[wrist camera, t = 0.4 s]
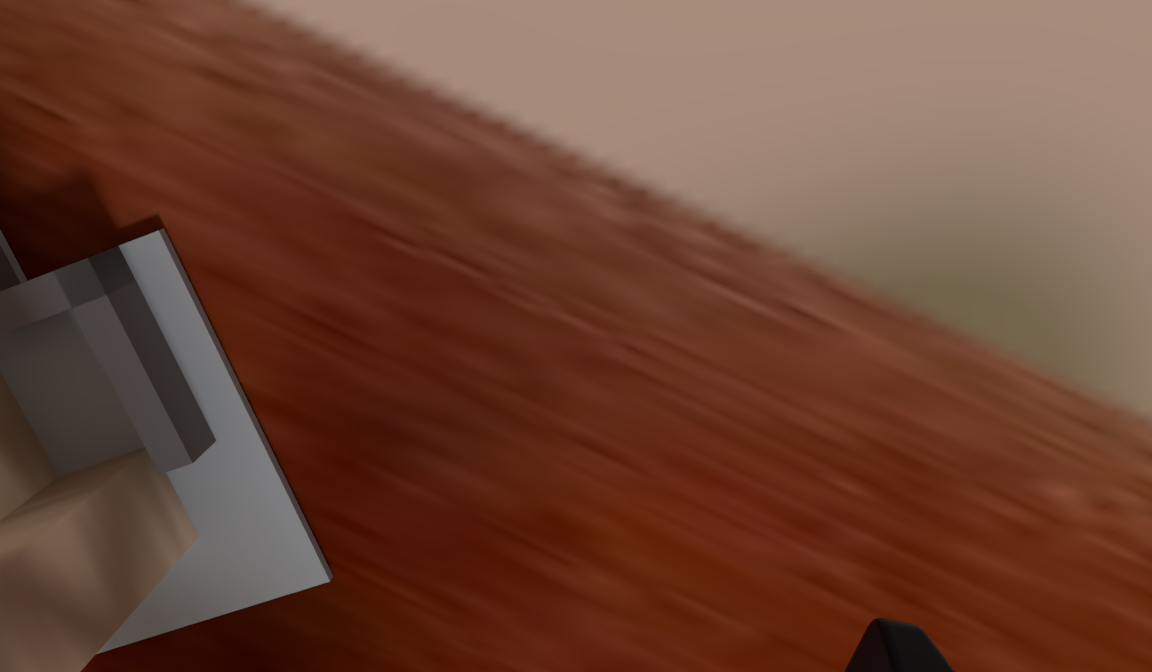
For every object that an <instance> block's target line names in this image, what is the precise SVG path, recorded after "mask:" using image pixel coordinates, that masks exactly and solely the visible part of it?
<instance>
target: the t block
mask: <svg viewBox="0 0 1152 672" xmlns="http://www.w3.org/2000/svg"><path fill="white" fill-rule="evenodd" d="M198 538H199V535H198V533H197V532H196V530H195V528H194V526H193V524H192V522H191V520H190V518H189V516H188V514H187V512H186V510H185V508H184V507H183V505H182V503H181V501H180V499H179V497H178V495H177V493H176V491H175V489H174V487H173V485H172V484H171V482H170V480H169V478H168V476H167V474H166V473H163V474H160V475H159V473H158V471H157V469H156V467H155V465H154V463H153V461H152V460H151V458H150V456H149V454H148V452H147V450H146V448H145V447H143V448H140V449H137V450H134V451H132V452H129V453H126V454H123V455H120V456H117V457H114V458H111V459H108V460H106V461H103V462H100V463H97V464H94V465H91V466H88V467H85V468H82V469H80V470H77V471H74V472H71V473H68V474H65V475H62V476H58V474H57V473H56V471H55V469H54V467H53V465H52V464H51V462H50V460H49V458H48V456H47V455H46V453H45V451H44V449H43V447H42V446H41V444H40V442H39V440H38V438H37V436H36V435H35V433H34V431H33V429H32V427H31V426H30V424H29V422H28V420H27V418H26V417H25V415H24V413H23V411H22V409H21V408H20V406H19V404H18V402H17V400H16V399H15V397H14V395H13V393H12V391H11V390H10V388H9V386H8V384H7V382H6V380H5V379H4V377H3V375H2V373H1V371H0V672H81V670H82V669H83V668H84V667H85V666H86V665H87V664H88V662H89V661H90V660H91V659H92V658H93V657H94V656H95V655H96V653H97V652H98V651H99V650H100V649H101V648H102V647H103V645H104V644H105V643H106V642H107V641H108V640H109V639H110V638H111V636H112V635H113V634H114V633H115V632H116V631H117V630H118V628H119V627H120V626H121V625H122V624H123V623H124V622H125V621H126V619H127V618H128V617H129V616H130V615H131V614H132V613H133V612H134V610H135V609H136V608H137V607H138V606H139V605H140V604H141V602H142V601H143V600H144V599H145V598H146V597H147V596H148V595H149V593H150V592H151V591H152V590H153V589H154V588H155V587H156V585H157V584H158V583H159V582H160V581H161V580H162V579H163V578H164V576H165V575H166V574H167V573H168V572H169V571H170V570H171V569H172V567H173V566H174V565H175V564H176V563H177V562H178V561H179V559H180V558H181V557H182V556H183V555H184V554H185V553H186V552H187V550H188V549H189V548H190V547H191V546H192V545H193V544H194V542H195V541H196V540H197V539H198Z"/></svg>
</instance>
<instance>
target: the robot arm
mask: <svg viewBox="0 0 1152 672" xmlns="http://www.w3.org/2000/svg"><path fill="white" fill-rule="evenodd" d="M845 672H955V671H954V670H953V668H952V667H951V666H950V665H949V663H948V662H947V661H946V659H945V658H944V657H943V655H942V654H941V653H940V651H939V650H938V649H937V647H936V646H935V645H934V643H933V642H932V641H931V639H930V638H929V637H928V635H927V634H926V633H925V632H924V631H923V630H922V629H921V628H920V627H919V626H917V625H915V624H911V623H906V622H901V621H897V620H892V619H887V618H876V619H874V620H873V621H872V622H871V623H870V624H869V626H868V627H867V629H866V631H865V633H864V635H863V637H862V639H861V641H860V643H859V645H858V647H857V649H856V650H855V652H854V654H853V656H852V658H851V660H850V662H849V664H848V666H847V668H846V670H845Z"/></svg>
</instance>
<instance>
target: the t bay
mask: <svg viewBox="0 0 1152 672" xmlns="http://www.w3.org/2000/svg"><path fill="white" fill-rule="evenodd" d="M0 371H1V373H2V375H3V377H4V379H5V380H6V382H7V384H8V386H9V388H10V390H11V391H12V393H13V395H14V397H15V399H16V400H17V402H18V404H19V406H20V408H21V409H22V411H23V413H24V415H25V417H26V418H27V420H28V422H29V424H30V426H31V427H32V429H33V431H34V433H35V435H36V436H37V438H38V440H39V442H40V444H41V446H42V447H43V449H44V451H45V453H46V455H47V456H48V458H49V460H50V462H51V464H52V465H53V467H54V469H55V471H56V473H57V474H58V476H62V475H65V474H68V473H71V472H74V471H77V470H80V469H82V468H85V467H88V466H91V465H94V464H97V463H100V462H103V461H106V460H108V459H111V458H114V457H117V456H120V455H123V454H126V453H129V452H132V451H134V450H137V449H140V448H143V447H145V448H146V450H147V452H148V454H149V456H150V458H151V460H152V461H153V463H154V465H155V467H156V469H157V471H158V473H159V475H160V474H163V473H166V474H167V476H168V478H169V480H170V482H171V484H172V485H173V487H174V489H175V491H176V493H177V495H178V497H179V499H180V501H181V503H182V505H183V507H184V508H185V510H186V512H187V514H188V516H189V518H190V520H191V522H192V524H193V526H194V528H195V530H196V532H197V533H198V535H199V538H198V539H197V540H196V541H195V542H194V544H193V545H192V546H191V547H190V548H189V549H188V550H187V552H186V553H185V554H184V555H183V556H182V557H181V558H180V559H179V561H178V562H177V563H176V564H175V565H174V566H173V567H172V569H171V570H170V571H169V572H168V573H167V574H166V575H165V576H164V578H163V579H162V580H161V581H160V582H159V583H158V584H157V585H156V587H155V588H154V589H153V590H152V591H151V592H150V593H149V595H148V596H147V597H146V598H145V599H144V600H143V601H142V602H141V604H140V605H139V606H138V607H137V608H136V609H135V610H134V612H133V613H132V614H131V615H130V616H129V617H128V618H127V619H126V621H125V622H124V623H123V624H122V625H121V626H120V627H119V628H118V630H117V631H116V632H115V633H114V634H113V635H112V636H111V638H110V639H109V640H108V641H107V642H106V643H105V644H104V645H103V647H102V648H101V649H100V650H99V651H98V652H97V653H96V654H98V653H101V652H105V651H108V650H111V649H114V648H117V647H121V646H124V645H127V644H130V643H134V642H137V641H140V640H143V639H146V638H150V637H153V636H156V635H159V634H162V633H166V632H169V631H172V630H175V629H179V628H182V627H185V626H188V625H191V624H195V623H198V622H201V621H204V620H207V619H211V618H214V617H217V616H220V615H224V614H227V613H230V612H233V611H236V610H240V609H243V608H246V607H249V606H252V605H256V604H259V603H262V602H265V601H269V600H272V599H275V598H278V597H281V596H285V595H288V594H291V593H294V592H297V591H301V590H304V589H307V588H310V587H314V586H317V585H320V584H323V583H326V582H330V581H331V579H332V577H333V575H332V572H331V570H330V568H329V566H328V564H327V562H326V560H325V558H324V556H323V554H322V552H321V550H320V548H319V546H318V544H317V542H316V540H315V538H314V535H313V533H312V531H311V529H310V527H309V525H308V523H307V521H306V519H305V517H304V515H303V513H302V511H301V509H300V507H299V505H298V503H297V501H296V499H295V496H294V494H293V492H292V490H291V488H290V486H289V484H288V482H287V480H286V478H285V476H284V474H283V472H282V470H281V468H280V466H279V464H278V462H277V459H276V457H275V455H274V453H273V451H272V449H271V447H270V445H269V443H268V441H267V439H266V437H265V435H264V433H263V431H262V429H261V427H260V425H259V423H258V420H257V418H256V416H255V414H254V412H253V410H252V408H251V406H250V404H249V402H248V400H247V398H246V396H245V394H244V392H243V390H242V388H241V386H240V383H239V381H238V379H237V377H236V375H235V373H234V371H233V369H232V367H231V365H230V363H229V361H228V359H227V357H226V355H225V353H224V351H223V349H222V347H221V344H220V342H219V340H218V338H217V336H216V334H215V332H214V330H213V328H212V326H211V324H210V322H209V320H208V318H207V316H206V314H205V312H204V310H203V308H202V305H201V303H200V301H199V299H198V297H197V295H196V293H195V291H194V289H193V287H192V285H191V283H190V281H189V279H188V277H187V275H186V273H185V271H184V268H183V266H182V264H181V262H180V260H179V258H178V256H177V254H176V252H175V250H174V248H173V246H172V244H171V242H170V240H169V238H168V236H167V234H166V232H165V229H164V228H163V229H161V230H158V231H156V232H153V233H150V234H148V235H145V236H143V237H140V238H137V239H135V240H132V241H130V242H127V243H124V244H122V245H119V246H117V247H114V248H111V249H109V250H106V251H104V252H101V253H98V254H96V255H93V256H91V257H88V258H85V259H83V260H80V261H78V262H75V263H72V264H70V265H67V266H65V267H62V268H59V269H57V270H54V271H52V272H49V273H46V274H44V275H41V276H39V277H36V278H33V279H31V280H27V279H26V277H25V275H24V273H23V271H22V269H21V267H20V265H19V263H18V262H17V260H16V258H15V256H14V254H13V252H12V250H11V248H10V247H9V245H8V243H7V241H6V239H5V237H4V235H3V233H2V232H1V230H0Z"/></svg>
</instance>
